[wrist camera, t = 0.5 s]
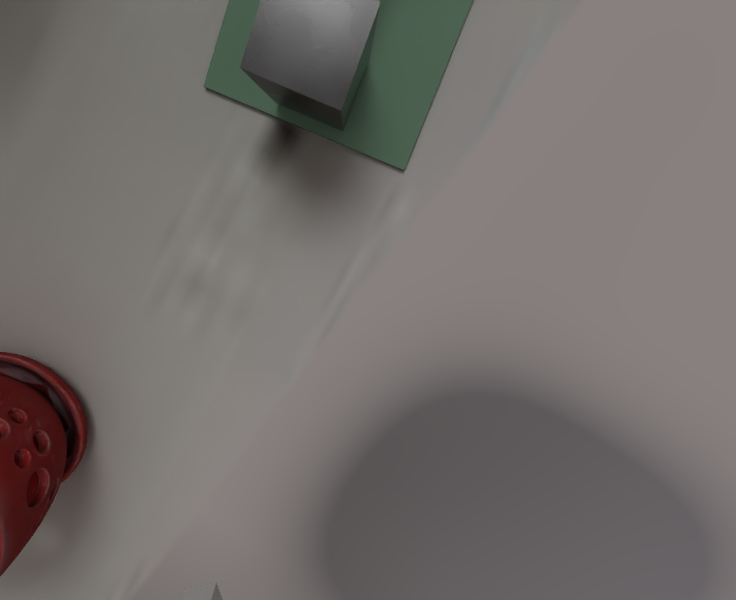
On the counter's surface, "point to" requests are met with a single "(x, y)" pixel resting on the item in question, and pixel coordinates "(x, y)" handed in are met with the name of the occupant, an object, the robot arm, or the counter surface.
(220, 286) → the counter surface
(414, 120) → the mat
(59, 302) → the counter surface
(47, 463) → the plant pot
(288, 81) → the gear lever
